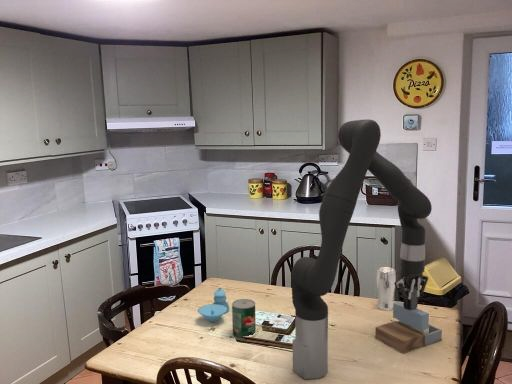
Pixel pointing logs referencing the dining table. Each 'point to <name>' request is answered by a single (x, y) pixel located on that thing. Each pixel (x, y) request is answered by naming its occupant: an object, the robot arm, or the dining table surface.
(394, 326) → the brown wooden block
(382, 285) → the beer glass
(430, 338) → the box
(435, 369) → the dining table surface
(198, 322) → the dining table surface
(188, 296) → the dining table surface
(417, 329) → the tile
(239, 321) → the canned tomato
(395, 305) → the scraper
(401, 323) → the tile
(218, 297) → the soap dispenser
